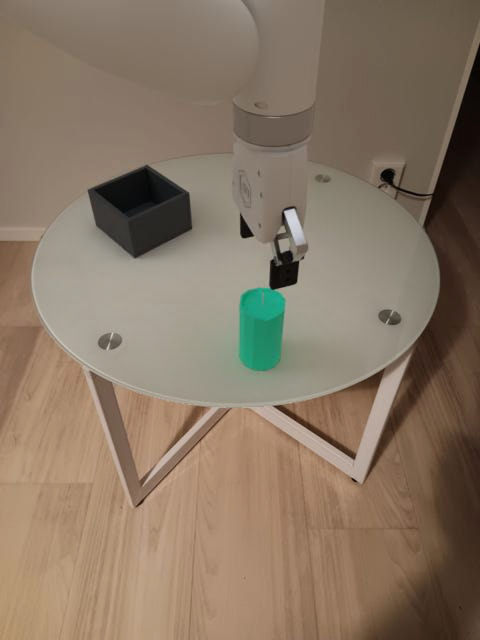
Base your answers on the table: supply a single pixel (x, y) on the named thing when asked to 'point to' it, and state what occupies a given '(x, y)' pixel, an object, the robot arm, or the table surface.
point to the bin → (141, 210)
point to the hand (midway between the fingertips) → (267, 259)
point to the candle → (261, 327)
